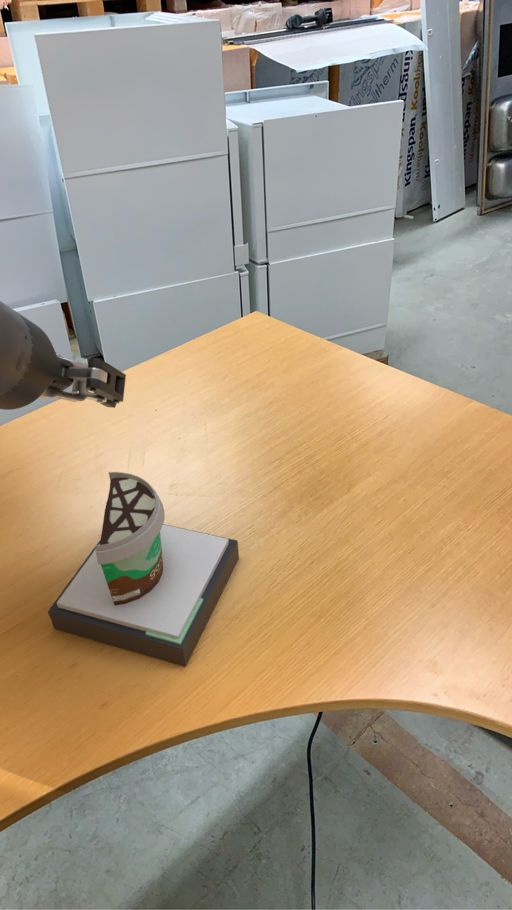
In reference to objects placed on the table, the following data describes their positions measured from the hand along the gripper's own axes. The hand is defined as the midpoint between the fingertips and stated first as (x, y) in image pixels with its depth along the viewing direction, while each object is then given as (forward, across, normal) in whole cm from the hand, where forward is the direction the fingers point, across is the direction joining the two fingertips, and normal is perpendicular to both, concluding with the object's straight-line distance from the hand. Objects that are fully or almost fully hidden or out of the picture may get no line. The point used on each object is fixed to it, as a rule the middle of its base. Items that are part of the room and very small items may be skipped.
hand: (72, 394), depth 64 cm
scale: (+15, -6, +20) cm, 25 cm away
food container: (+12, -6, +17) cm, 22 cm away
